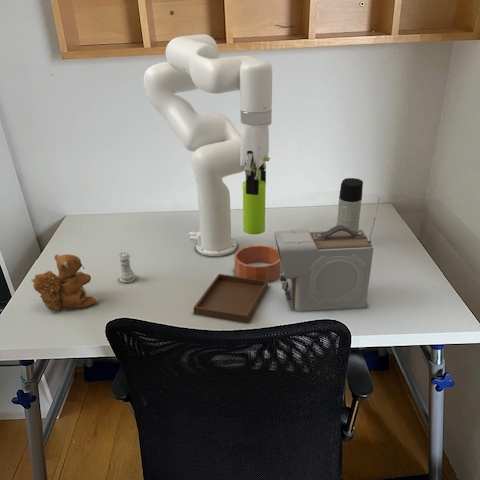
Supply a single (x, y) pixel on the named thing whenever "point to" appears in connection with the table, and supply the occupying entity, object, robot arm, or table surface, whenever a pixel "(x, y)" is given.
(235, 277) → the tray
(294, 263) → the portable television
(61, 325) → the table surface
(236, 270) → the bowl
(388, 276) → the table surface
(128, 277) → the rook chess piece
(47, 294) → the stuffed squirrel
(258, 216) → the soap dispenser
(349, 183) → the spray can
